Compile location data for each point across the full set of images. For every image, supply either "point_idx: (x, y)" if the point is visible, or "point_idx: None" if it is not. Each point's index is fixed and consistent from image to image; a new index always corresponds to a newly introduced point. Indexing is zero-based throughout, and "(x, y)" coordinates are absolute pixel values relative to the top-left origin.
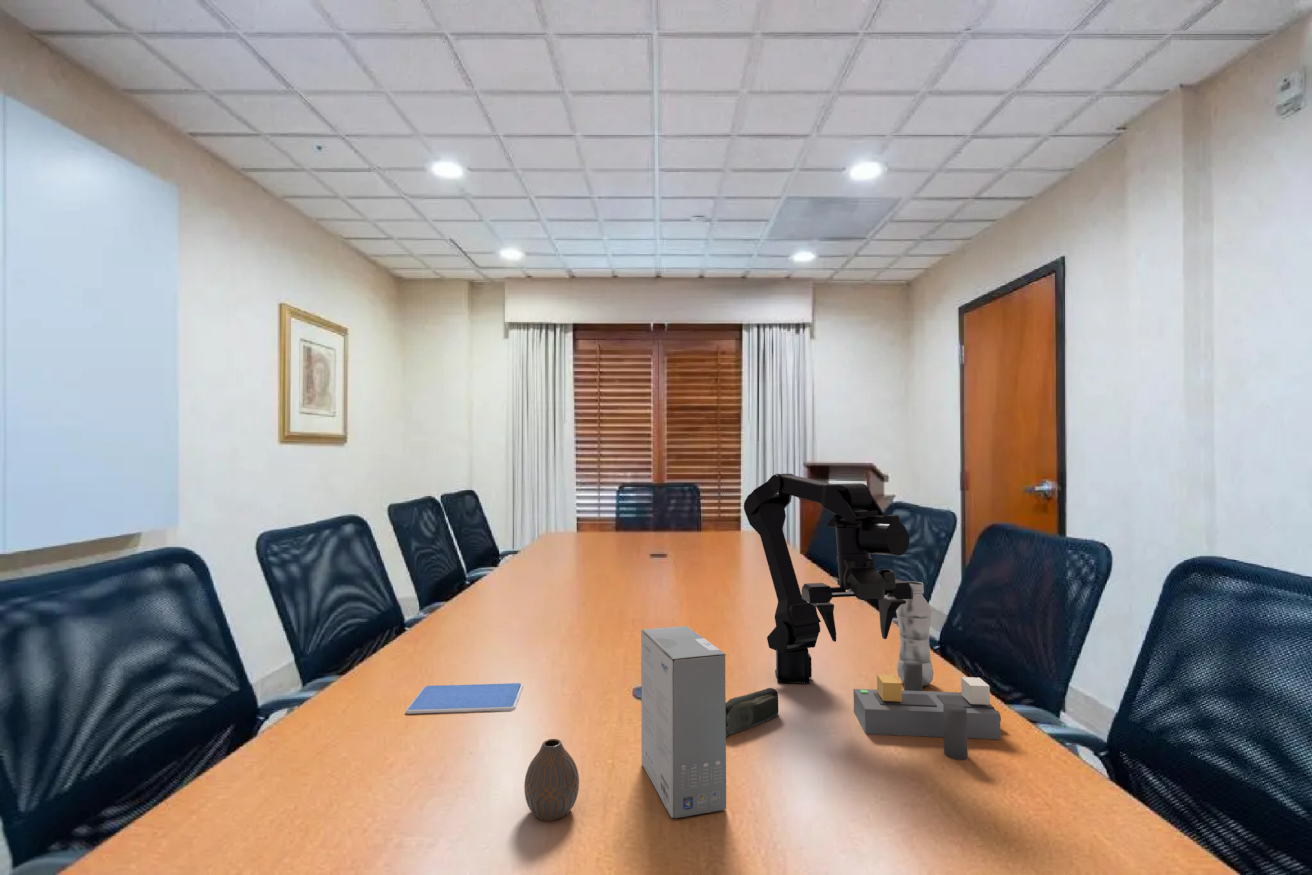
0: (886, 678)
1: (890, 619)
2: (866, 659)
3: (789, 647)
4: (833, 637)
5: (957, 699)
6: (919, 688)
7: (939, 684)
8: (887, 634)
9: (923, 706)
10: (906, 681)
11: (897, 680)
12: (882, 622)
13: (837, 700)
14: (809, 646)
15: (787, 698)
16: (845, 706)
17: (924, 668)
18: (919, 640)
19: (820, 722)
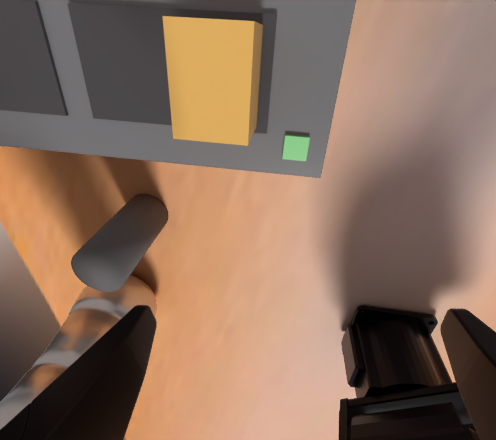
0: (219, 91)
1: (29, 417)
2: (199, 382)
3: (434, 400)
4: (489, 328)
5: (2, 72)
6: (118, 213)
7: (85, 284)
8: (119, 322)
9: (117, 2)
10: (143, 233)
11: (174, 61)
12: (112, 411)
13: (330, 221)
14: (360, 401)
15: (462, 237)
16: (324, 186)
17: (89, 298)
18: (53, 365)
19: (459, 70)
